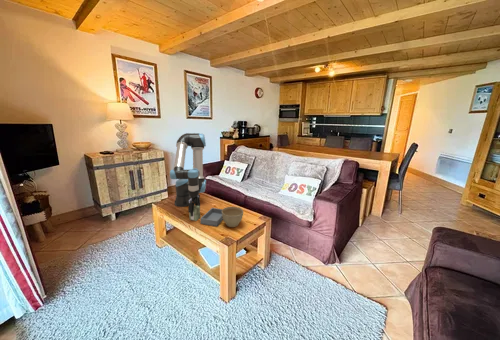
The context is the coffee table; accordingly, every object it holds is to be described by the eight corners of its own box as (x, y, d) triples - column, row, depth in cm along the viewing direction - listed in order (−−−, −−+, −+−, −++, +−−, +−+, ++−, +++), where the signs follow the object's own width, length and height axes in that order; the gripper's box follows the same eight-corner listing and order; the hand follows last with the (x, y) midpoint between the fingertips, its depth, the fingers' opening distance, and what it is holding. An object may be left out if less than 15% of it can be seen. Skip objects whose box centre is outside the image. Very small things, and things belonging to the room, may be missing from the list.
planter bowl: (235, 232, 142) (235, 218, 140) (217, 225, 150) (217, 212, 147) (247, 222, 156) (247, 209, 153) (229, 217, 164) (229, 204, 161)
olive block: (193, 216, 163) (193, 204, 161) (200, 217, 162) (199, 205, 159) (189, 219, 158) (188, 207, 155) (196, 221, 156) (195, 209, 154)
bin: (212, 212, 170) (212, 207, 169) (227, 215, 167) (227, 210, 166) (200, 223, 152) (200, 218, 151) (217, 226, 149) (217, 221, 147)
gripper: (191, 194, 144) (192, 224, 150) (204, 186, 162) (205, 213, 167) (182, 193, 146) (183, 222, 151) (195, 185, 163) (196, 211, 169)
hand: (194, 217), depth 159 cm, fingers closed on olive block, 6 cm apart
